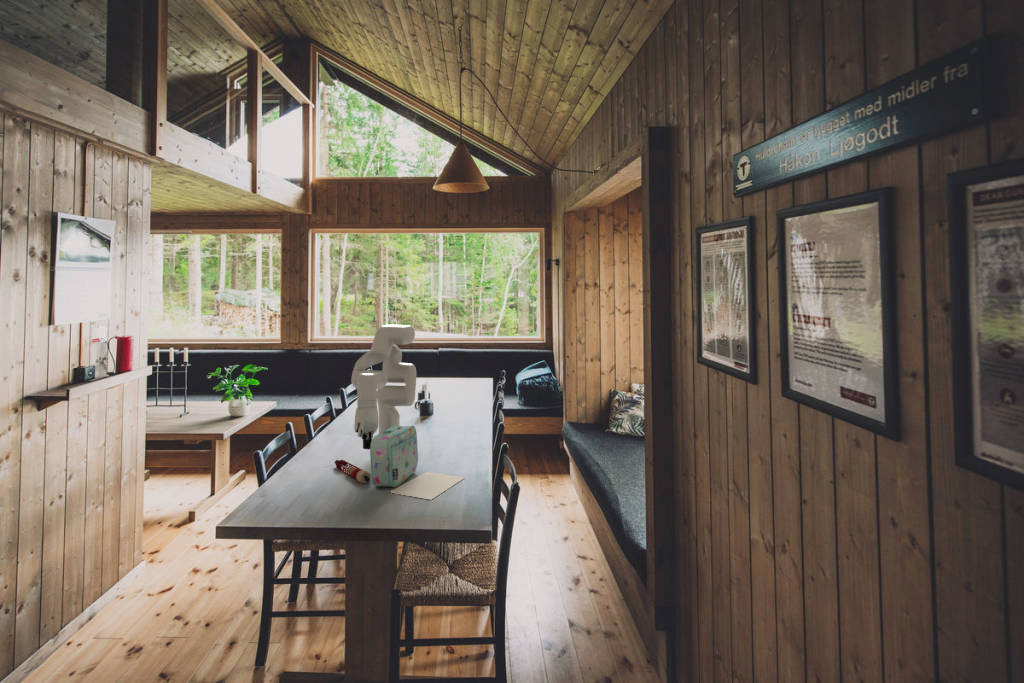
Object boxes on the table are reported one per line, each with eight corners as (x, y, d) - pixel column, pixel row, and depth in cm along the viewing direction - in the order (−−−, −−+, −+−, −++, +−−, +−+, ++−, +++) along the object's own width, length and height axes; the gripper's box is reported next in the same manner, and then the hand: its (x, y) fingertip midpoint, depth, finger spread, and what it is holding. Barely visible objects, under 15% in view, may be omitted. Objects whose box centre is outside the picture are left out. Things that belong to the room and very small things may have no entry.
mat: (388, 493, 194) (388, 492, 194) (426, 472, 218) (426, 471, 218) (431, 500, 187) (431, 499, 187) (464, 478, 211) (464, 477, 211)
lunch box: (393, 493, 194) (393, 436, 193) (368, 490, 196) (367, 434, 195) (420, 470, 221) (420, 420, 219) (397, 469, 223) (397, 419, 221)
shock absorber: (329, 460, 222) (361, 478, 200) (339, 454, 225) (371, 471, 203) (333, 470, 224) (365, 488, 201) (343, 464, 227) (376, 481, 204)
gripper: (371, 400, 220) (371, 443, 221) (347, 406, 206) (347, 452, 207) (386, 401, 217) (386, 445, 218) (362, 407, 203) (363, 454, 204)
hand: (367, 448), depth 213 cm, fingers closed
